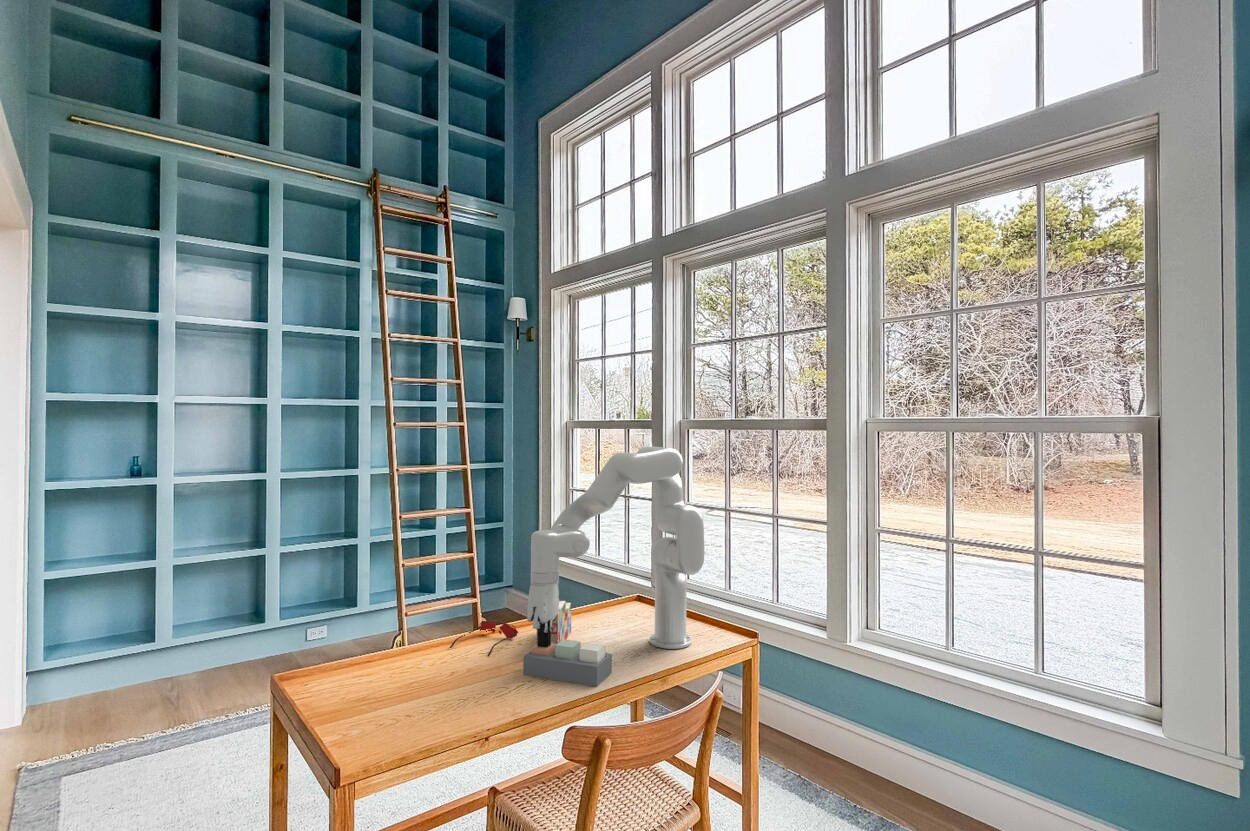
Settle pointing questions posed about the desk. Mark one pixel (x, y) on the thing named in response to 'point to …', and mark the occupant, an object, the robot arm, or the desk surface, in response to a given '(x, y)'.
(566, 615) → the stack of blocks
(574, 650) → the sage button
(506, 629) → the glasses
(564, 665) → the frame
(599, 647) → the cream button
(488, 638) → the desk surface
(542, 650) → the terracotta button
